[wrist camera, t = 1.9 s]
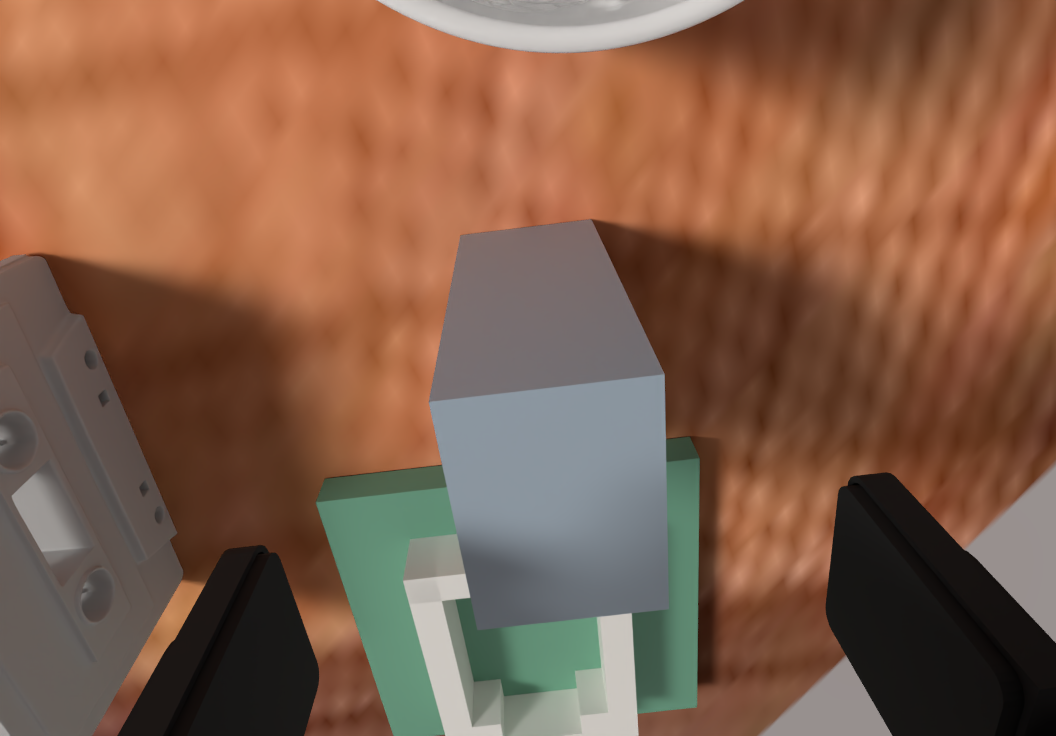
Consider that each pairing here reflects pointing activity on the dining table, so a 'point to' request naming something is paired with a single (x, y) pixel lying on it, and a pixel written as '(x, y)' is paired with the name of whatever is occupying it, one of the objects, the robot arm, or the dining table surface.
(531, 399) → the plug
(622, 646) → the header board
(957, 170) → the dining table surface
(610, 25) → the white cup
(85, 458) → the cassette
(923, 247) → the dining table surface
